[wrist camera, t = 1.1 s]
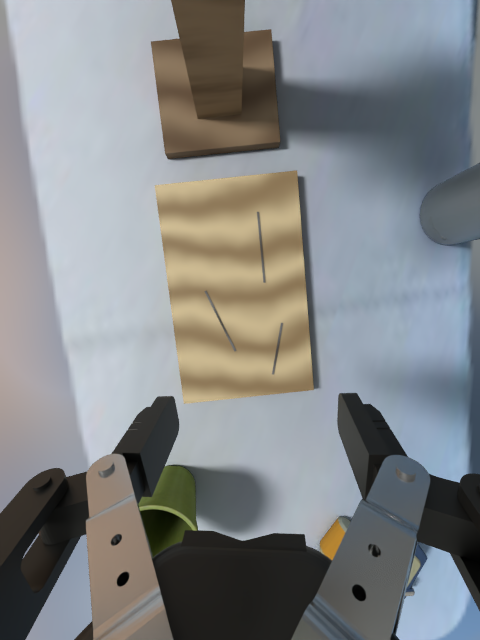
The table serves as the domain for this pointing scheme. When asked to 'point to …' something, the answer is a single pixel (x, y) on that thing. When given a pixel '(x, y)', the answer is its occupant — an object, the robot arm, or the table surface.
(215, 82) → the shelf stand
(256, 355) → the pine board
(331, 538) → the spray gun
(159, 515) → the plant pot
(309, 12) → the table surface
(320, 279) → the table surface
